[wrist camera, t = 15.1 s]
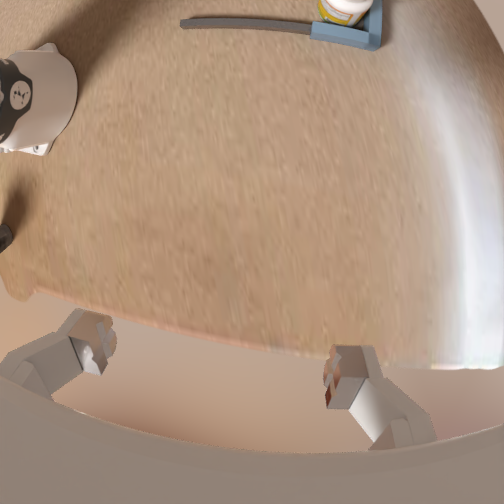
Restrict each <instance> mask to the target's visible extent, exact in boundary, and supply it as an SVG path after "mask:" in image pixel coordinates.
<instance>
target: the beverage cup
mask: <svg viewBox="0 0 504 504" xmlns="http://www.w3.org/2000/svg"><path fill="white" fill-rule="evenodd" d="M11 243H12V233H11V231H10V229H9V228H8V226H7V225H5V224H3V225H0V253H1V252H2V251H4V250H5V249H6V248H7V247H8V246H9V245H10V244H11Z"/></svg>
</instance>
